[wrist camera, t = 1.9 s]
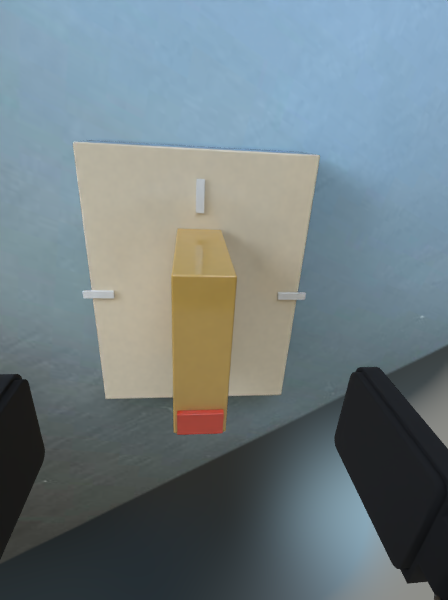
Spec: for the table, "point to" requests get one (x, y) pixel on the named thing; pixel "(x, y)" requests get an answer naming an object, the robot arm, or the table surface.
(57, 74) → the table surface
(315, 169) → the dial base plate
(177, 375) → the tan block
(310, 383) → the table surface
